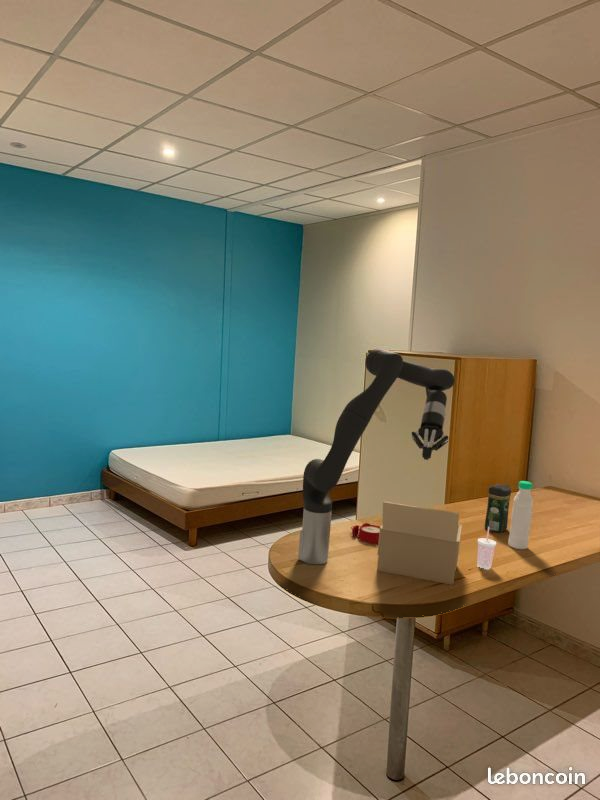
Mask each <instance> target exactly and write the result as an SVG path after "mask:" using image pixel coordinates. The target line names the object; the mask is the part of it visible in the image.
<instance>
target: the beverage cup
mask: <svg viewBox="0 0 600 800" xmlns="http://www.w3.org/2000/svg"><path fill="white" fill-rule="evenodd" d="M489 534H490V530H489V527H488V529H487V533H486V537H484V538H483V537H481V538H480V537H479V538H477V558H476V559H477V560H476V566H477V568H479V567H480V568H479V569H481V568H484V569H483V570H491V569H492V563H493V559H494V554H495V549H496V548H495V547H496V546H497V541H495V540H493V539H491V538H489ZM490 568H491V569H490Z"/></svg>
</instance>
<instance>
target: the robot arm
mask: <svg viewBox="0 0 600 800" xmlns="http://www.w3.org/2000/svg"><path fill="white" fill-rule="evenodd" d="M364 364H365V368H366V370H367V371H368V373H370V374H372V376H375V378H374V379H373V381H372V382H371V384H370V385H369V386H368V387H367V388H366V389H364V391H362V392H361V393H359V394H358V395H356V396H355V397H354V398H352V399H351V400H350V401H349V402H347V404H346V406H345V407H344V409H343V410H342V412H341V414H340V416H339V417H338V419H337V421H336V425H335V428H334V435H333V441H332V443H331V448H330V449H329V451H328V453H327V455H325V458H324V459H320V458H313V459H312V460H310V461H309V462H307V464H306V466H305V468H304V471H303V476H302V479H303V480H302V500H303V514H302V528H301V531H299V542H298V555H297V560H298V561H302V562H303V563H304V564H305V563H306V564H309V565H323V564H326V563H327V562H328V559H329V547H330V538H331V526H332V525H331V524H332V511H333V501H332V499H331V496H330V493H329V492H331V490H333V489H334V488H335V487H336V486H337V484H338V483H339V481H340V479H341V476H342V475H343V472H344V469H345V467H346V465H347V463H348V461H349V458H350V456H351V455H352V453H353V452H354V450H355V448H356V446H357V444H358V442H359V440H360V438H361V437H362V435H363V434H364V432H365V431H366V428H367V427H368V425H369V424H370V422H371V420H372V418H373V416H374V414H375V412H376V411H377V410H378V407H379V406H380V404H381V402H382V400H383V399H384V397H385V396H386V395H387V393H388V391H389V390H390V389H391V387H392V386H393V384H394V383H395V382H396V381H397V379H400V380H402V381H405V382H408V383H410V384H413V385H416V386H418V387H422V388H425V393H426V399H425V406H424V408H423V412H422V417H421V423H420V427H419V428H418V431H411V438H412V440H413V441H414V443H415V444H416V446H417V447H418V449H422V453H421V456H422V458H423V460H425V461H429V460H430V459H431V458H432V452H433V451H436V452H437V451H438V450H440V449H441V448H443V447H444V446H445V445H446V444H447V443H448V442H449V436H448V435H445V434H444V431H443V429H444V424H445V418H446V417H445V416H446V406H447V402H448V401H447V400H448V398H447V395H446V393H445V391H447V390H450V389H451V388H453V387H454V385H455V382H456V381H455V376H454V374H453V373H452V372H451V371H450V370H448V369H444V368H433V367H432V368H430V367H428V366H424V365H421V364H418V363H414V362H411V361H407V360H403V356H402V355H401V354H399V353H397V352H394V351H391V350H388V349H384V348H375V349H371V351H369V353H367V355H366V358H365V363H364ZM421 440H422V441H421Z"/></svg>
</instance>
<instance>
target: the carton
mask: <svg viewBox="0 0 600 800" xmlns="http://www.w3.org/2000/svg"><path fill="white" fill-rule="evenodd" d="M379 527H380V532H379V543H377V554H376V555H377V556H378V557H377V565H376V566H377V567H376V571H378V572H383V573H388V574H393V575H399V576H403V577H408V578H415V579H419V578H420V579H419V580H424V579H425V581H430V580H431V581H432V582H435V583H441V584H447V585H452V586H453V585H454V582H455V575H456V570H457V568H458V561H459V555H460V546H461V545H460V544H461V539H462V538H461V537H462V529H463V525H462V524H459V523H458V531H457V541H456V542H452V541H447V540H441V539H435V538H429V537H423V536H417V535H411V534H406V533H400V532H394V531H388V530H382V524H381V526H379ZM431 581H430V582H431Z"/></svg>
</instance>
